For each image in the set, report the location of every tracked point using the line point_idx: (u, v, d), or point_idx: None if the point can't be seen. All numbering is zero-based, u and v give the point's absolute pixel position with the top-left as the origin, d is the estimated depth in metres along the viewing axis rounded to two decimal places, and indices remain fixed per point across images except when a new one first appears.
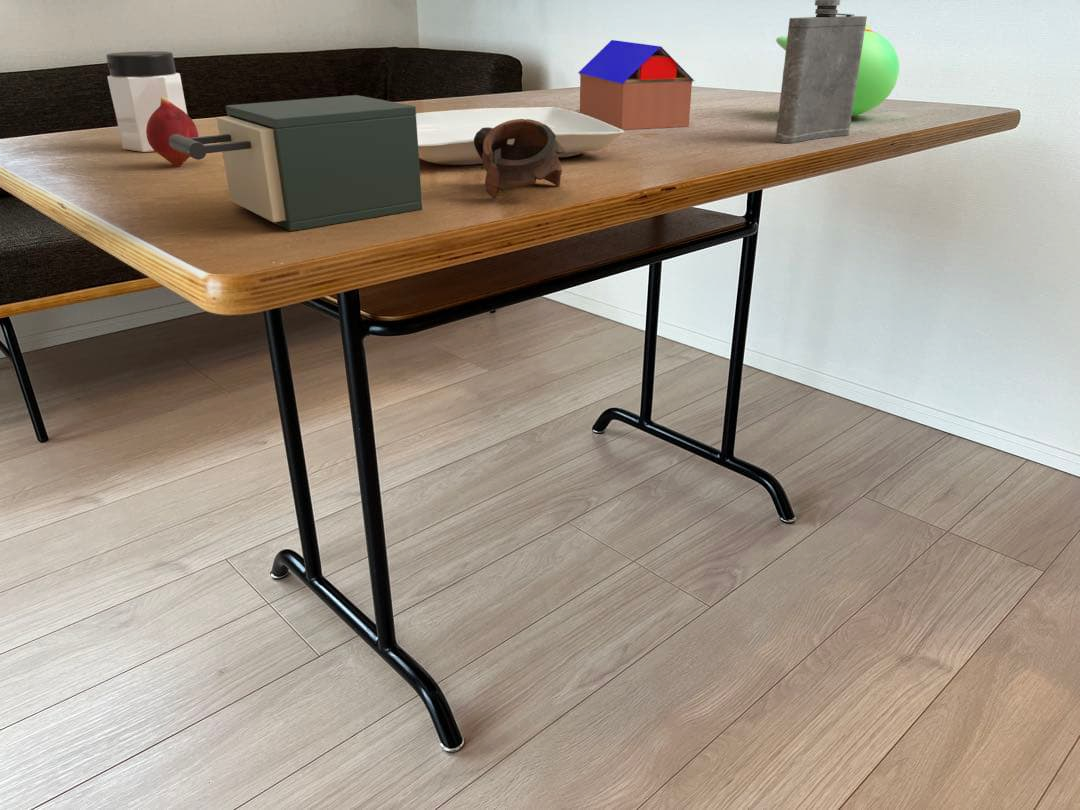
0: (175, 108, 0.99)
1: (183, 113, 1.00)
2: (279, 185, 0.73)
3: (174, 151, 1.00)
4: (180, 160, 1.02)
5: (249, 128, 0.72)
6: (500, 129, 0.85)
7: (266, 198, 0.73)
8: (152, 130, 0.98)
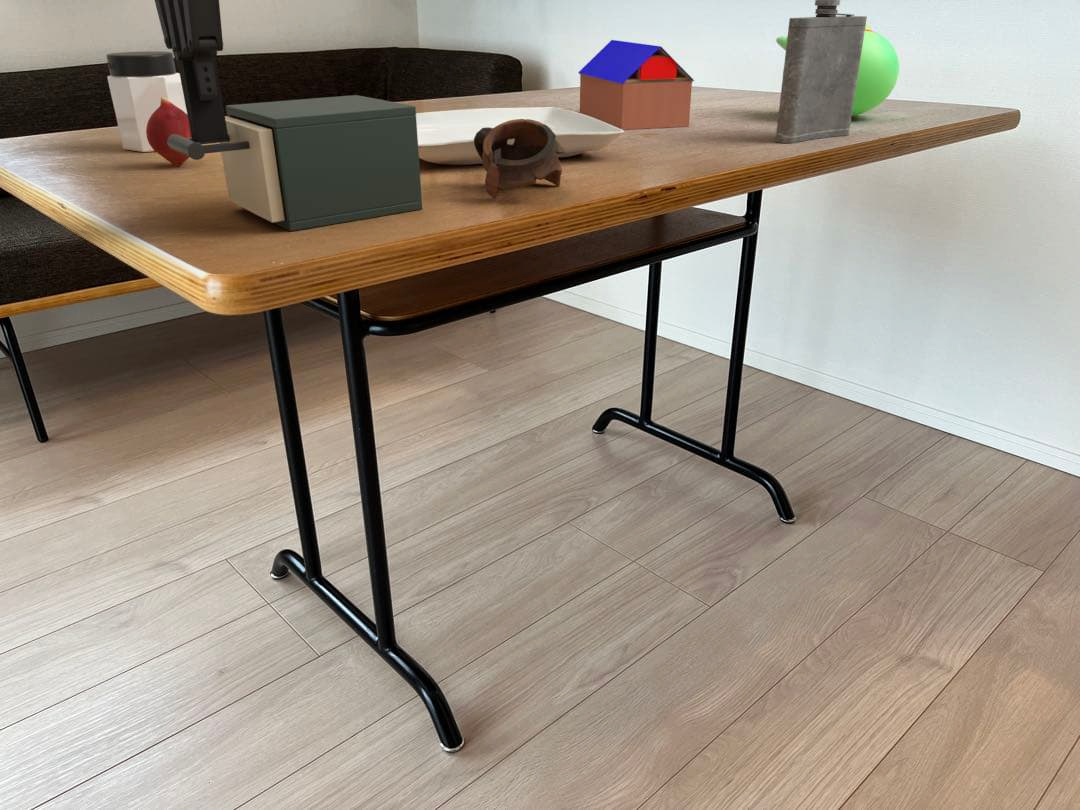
0: (175, 108, 0.99)
1: (183, 113, 1.00)
2: (278, 185, 0.72)
3: (174, 151, 1.00)
4: (180, 160, 1.02)
5: (248, 128, 0.72)
6: (500, 129, 0.85)
7: (264, 198, 0.73)
8: (152, 130, 0.98)
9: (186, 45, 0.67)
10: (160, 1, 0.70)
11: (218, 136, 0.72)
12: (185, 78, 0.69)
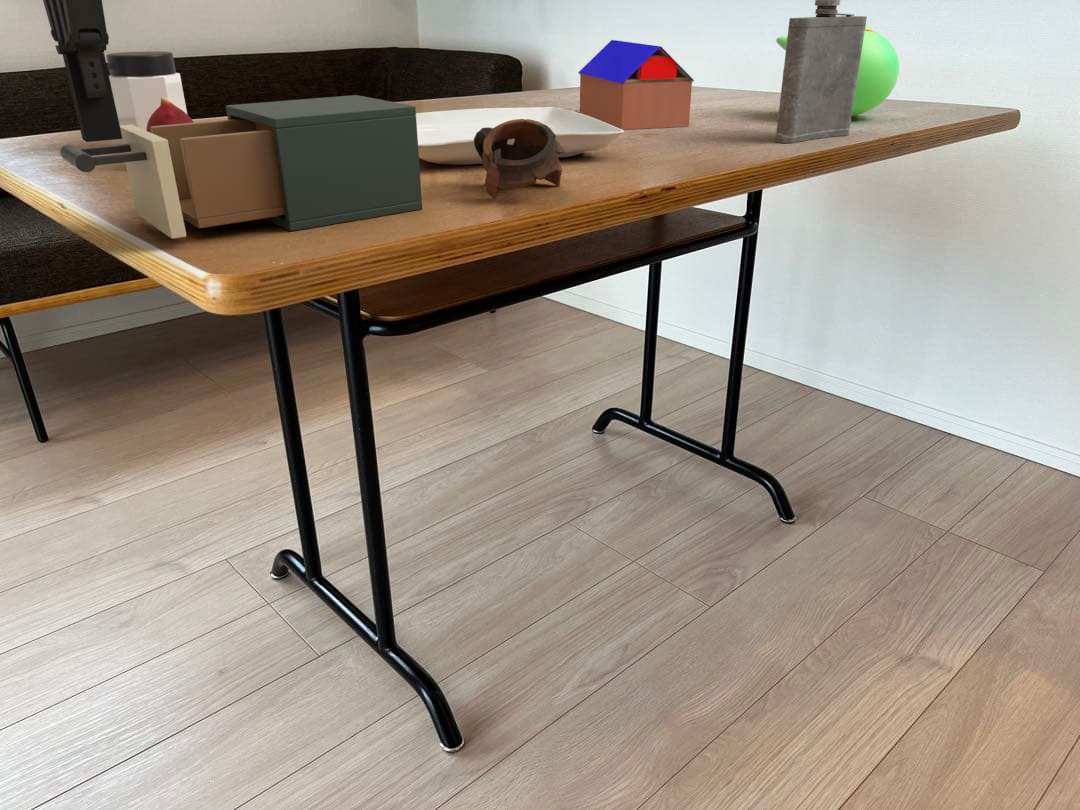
0: (175, 108, 0.99)
1: (183, 113, 1.00)
2: (177, 199, 0.68)
3: None
4: None
5: (143, 138, 0.67)
6: (500, 129, 0.85)
7: (164, 213, 0.68)
8: None
9: (68, 38, 0.63)
10: None
11: (110, 136, 0.68)
12: (70, 73, 0.65)
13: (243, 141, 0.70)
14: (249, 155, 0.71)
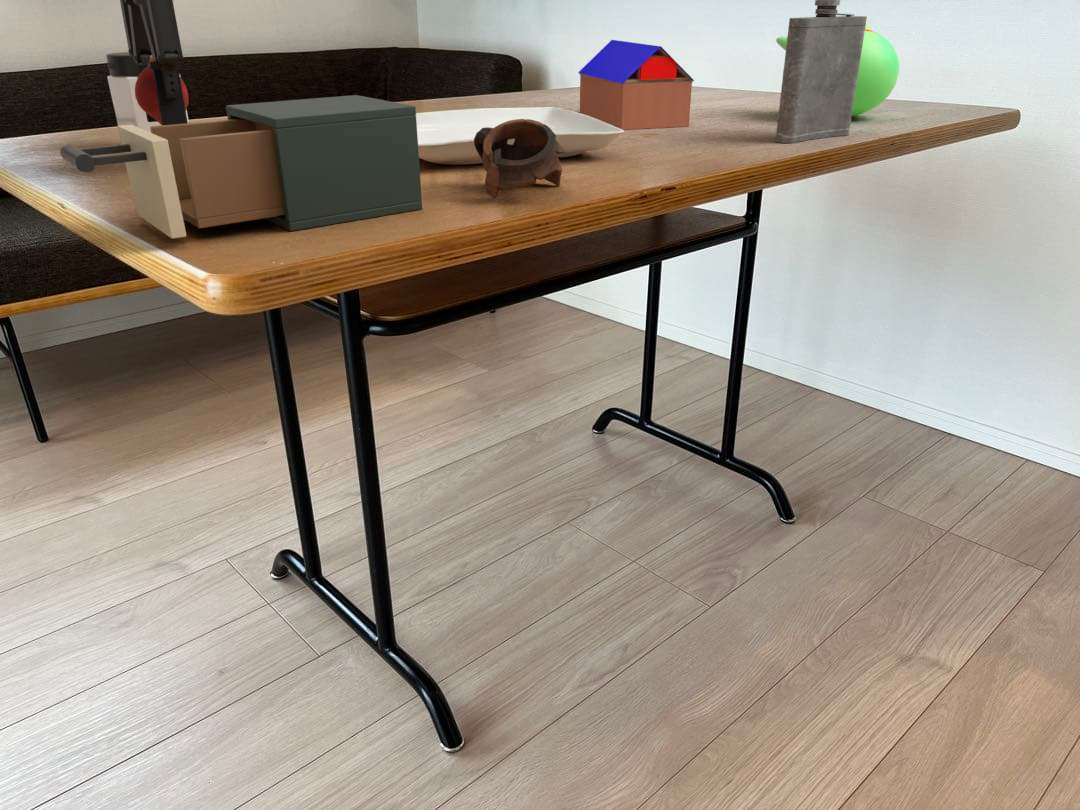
0: None
1: None
2: (177, 199, 0.68)
3: None
4: None
5: (143, 138, 0.67)
6: (500, 129, 0.85)
7: (164, 213, 0.68)
8: (140, 88, 0.96)
9: (155, 56, 0.93)
10: (127, 24, 0.99)
11: None
12: (156, 82, 0.95)
13: (243, 141, 0.70)
14: (249, 155, 0.71)
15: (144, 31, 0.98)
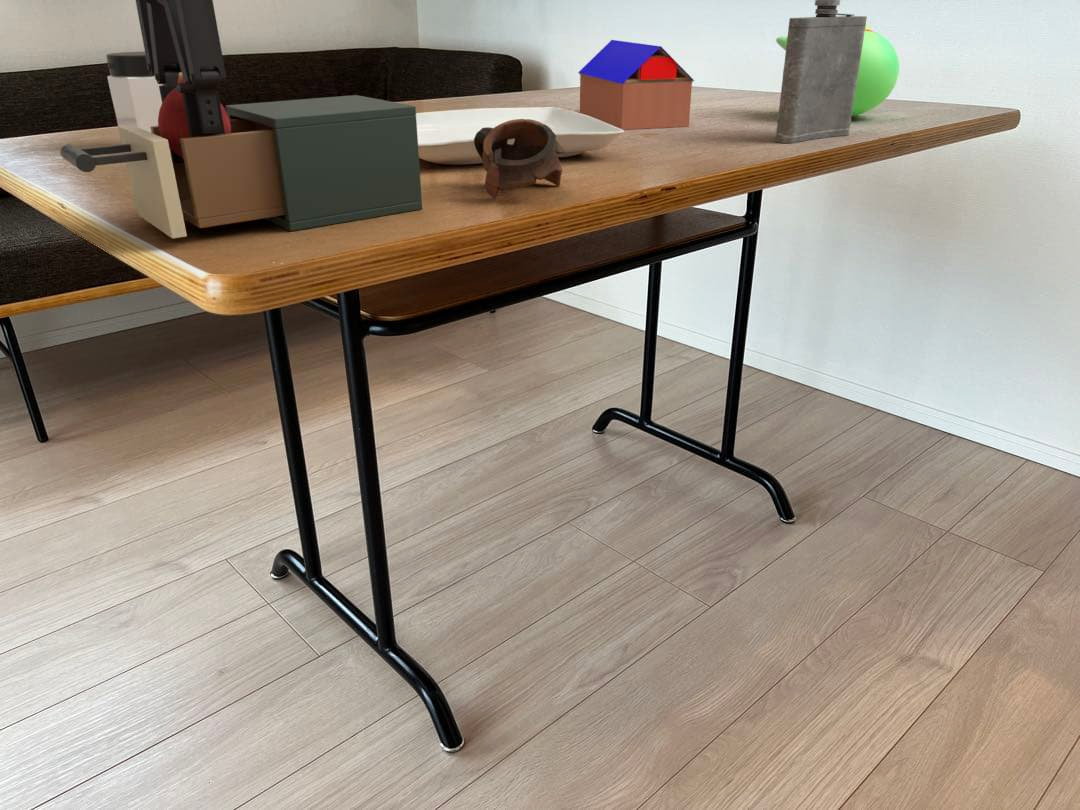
0: None
1: None
2: (177, 199, 0.68)
3: None
4: None
5: (144, 138, 0.67)
6: (500, 129, 0.85)
7: (164, 213, 0.68)
8: (166, 119, 0.69)
9: (187, 76, 0.66)
10: (146, 30, 0.72)
11: None
12: (187, 111, 0.68)
13: (243, 141, 0.70)
14: (250, 155, 0.71)
15: (169, 40, 0.71)
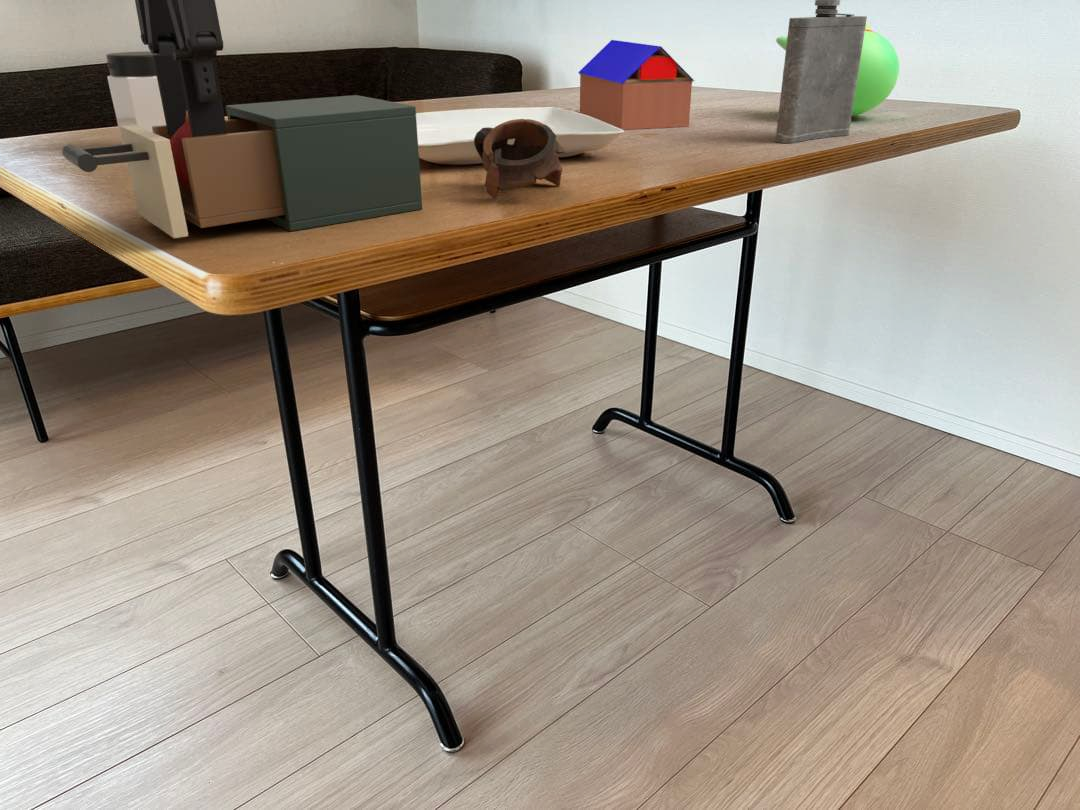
0: None
1: None
2: (179, 199, 0.68)
3: None
4: None
5: (145, 138, 0.67)
6: (500, 129, 0.85)
7: (165, 212, 0.68)
8: (174, 155, 0.71)
9: (183, 42, 0.65)
10: None
11: None
12: (183, 79, 0.66)
13: (244, 141, 0.70)
14: (251, 155, 0.71)
15: (163, 8, 0.70)
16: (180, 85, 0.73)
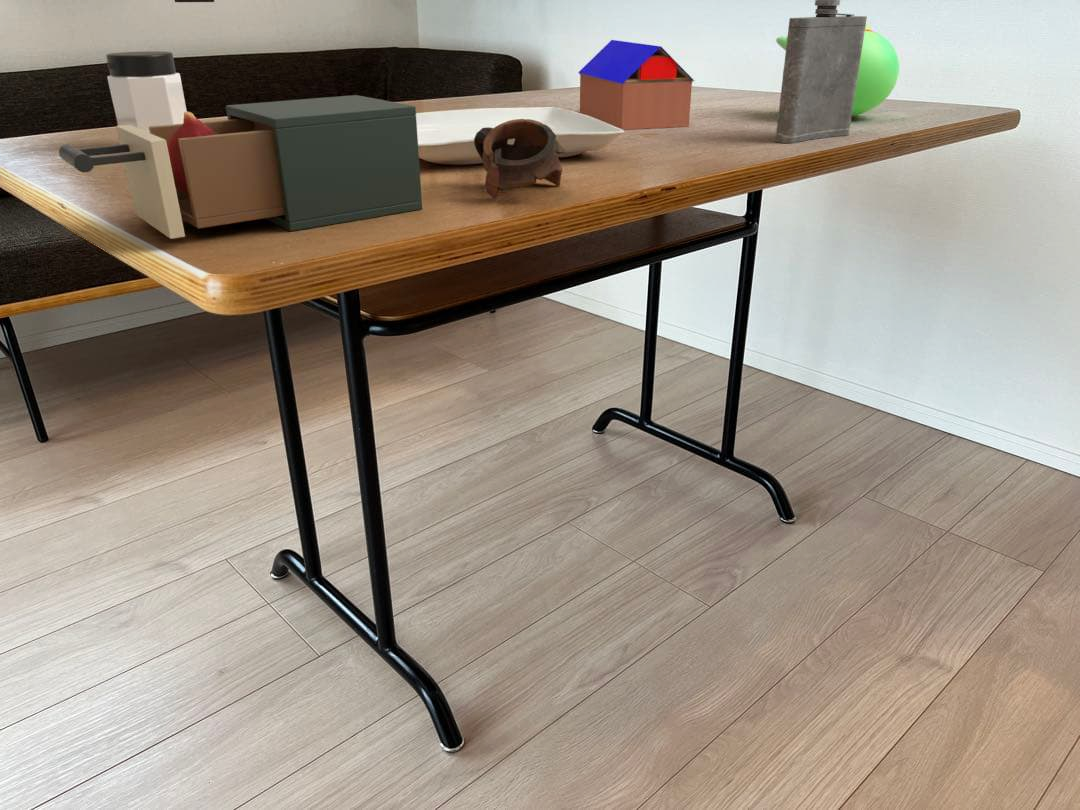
0: (204, 127, 0.71)
1: (215, 134, 0.72)
2: (175, 199, 0.68)
3: None
4: None
5: (142, 138, 0.67)
6: (500, 129, 0.85)
7: (162, 213, 0.68)
8: (172, 158, 0.70)
9: None
10: None
11: None
12: None
13: (241, 142, 0.70)
14: (248, 155, 0.71)
15: None
16: None
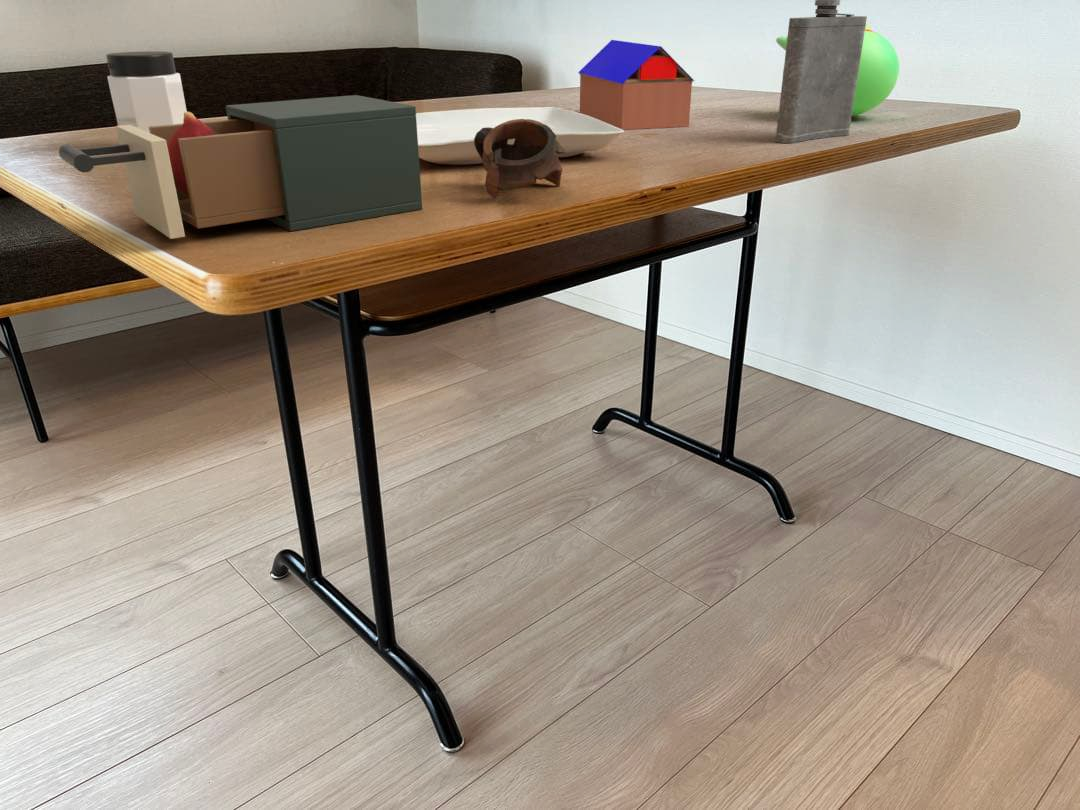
0: (204, 127, 0.71)
1: (215, 134, 0.72)
2: (175, 199, 0.68)
3: None
4: None
5: (142, 138, 0.67)
6: (500, 129, 0.85)
7: (162, 213, 0.68)
8: (172, 158, 0.70)
9: None
10: None
11: None
12: None
13: (241, 142, 0.70)
14: (248, 155, 0.71)
15: None
16: None
